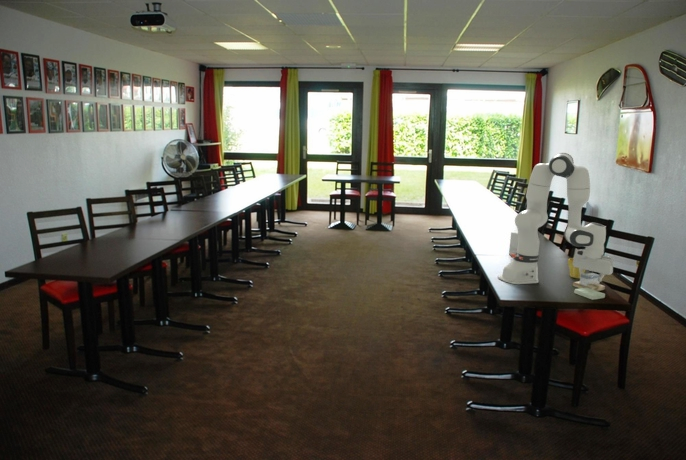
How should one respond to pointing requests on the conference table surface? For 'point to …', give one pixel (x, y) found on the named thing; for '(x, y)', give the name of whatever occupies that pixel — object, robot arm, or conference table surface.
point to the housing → (589, 279)
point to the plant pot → (574, 269)
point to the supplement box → (513, 242)
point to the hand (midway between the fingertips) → (590, 278)
